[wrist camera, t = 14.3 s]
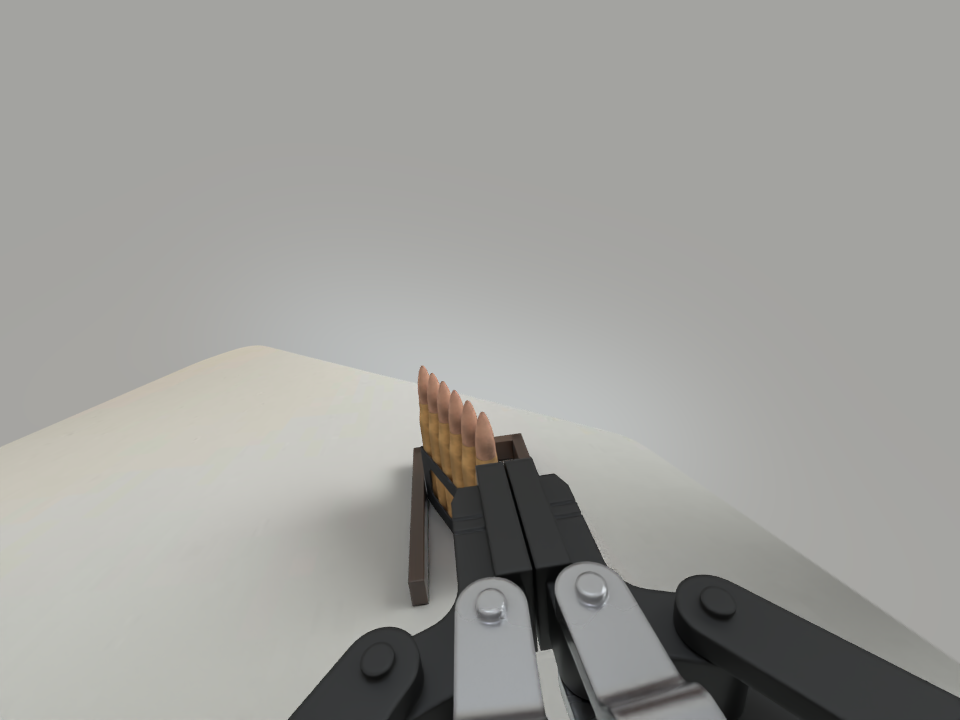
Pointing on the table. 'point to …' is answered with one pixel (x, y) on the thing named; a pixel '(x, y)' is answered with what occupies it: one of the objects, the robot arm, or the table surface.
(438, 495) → the ammunition clip
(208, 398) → the table surface
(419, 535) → the frame
